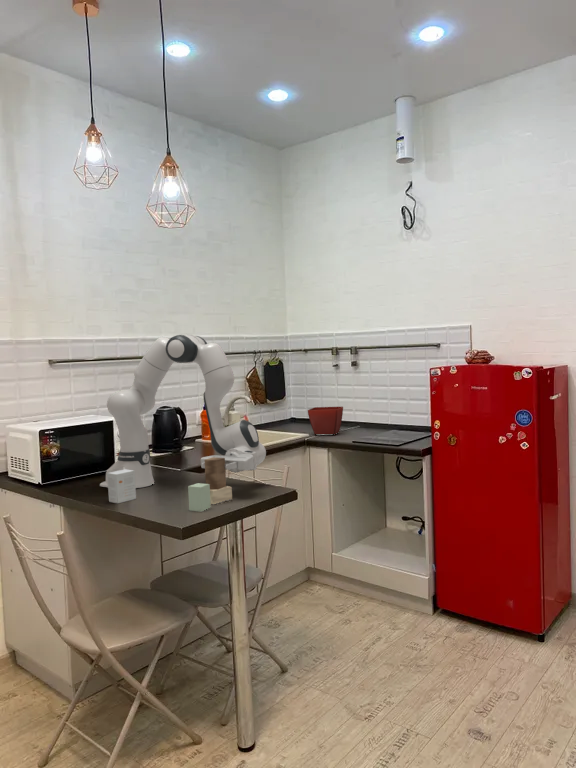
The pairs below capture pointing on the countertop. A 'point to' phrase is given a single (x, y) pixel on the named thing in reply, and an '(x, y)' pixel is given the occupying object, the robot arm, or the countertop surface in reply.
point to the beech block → (220, 494)
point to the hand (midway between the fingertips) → (214, 466)
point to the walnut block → (215, 473)
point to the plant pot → (325, 419)
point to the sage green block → (199, 497)
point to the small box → (121, 486)
